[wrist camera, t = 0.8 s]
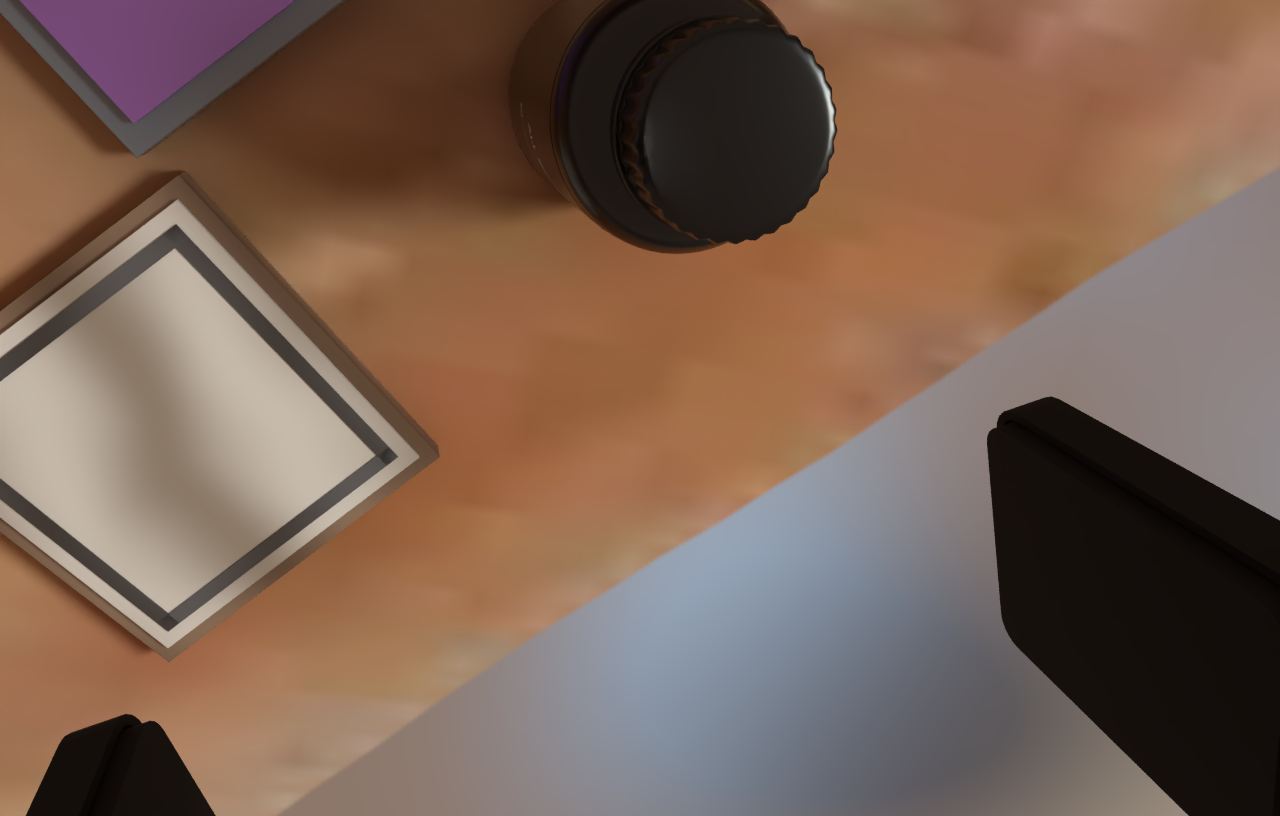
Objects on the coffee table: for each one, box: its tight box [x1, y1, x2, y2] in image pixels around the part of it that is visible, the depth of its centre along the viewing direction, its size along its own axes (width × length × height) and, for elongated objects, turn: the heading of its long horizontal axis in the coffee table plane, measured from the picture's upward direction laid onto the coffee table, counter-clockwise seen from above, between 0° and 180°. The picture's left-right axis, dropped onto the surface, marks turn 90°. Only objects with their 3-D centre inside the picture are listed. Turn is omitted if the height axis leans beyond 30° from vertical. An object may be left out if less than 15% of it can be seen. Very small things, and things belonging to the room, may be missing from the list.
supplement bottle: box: [509, 0, 837, 254], centre depth 25 cm, size 7×7×12 cm
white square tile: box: [0, 171, 439, 662], centre depth 30 cm, size 12×12×1 cm
